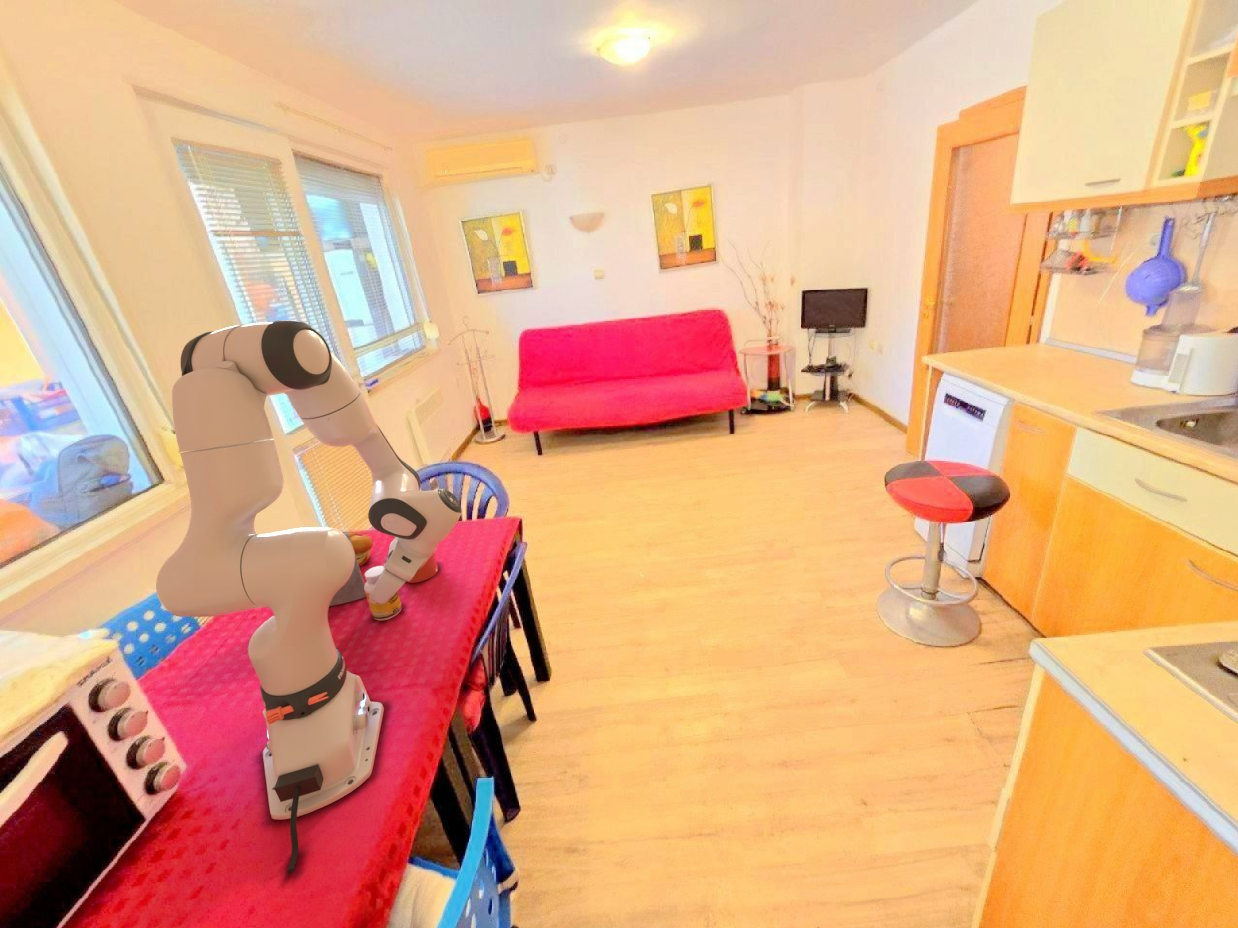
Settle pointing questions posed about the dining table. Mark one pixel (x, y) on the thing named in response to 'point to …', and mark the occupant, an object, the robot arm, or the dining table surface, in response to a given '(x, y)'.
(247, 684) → the dining table surface
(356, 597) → the hip flask
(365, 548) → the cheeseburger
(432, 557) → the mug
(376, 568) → the pill bottle
